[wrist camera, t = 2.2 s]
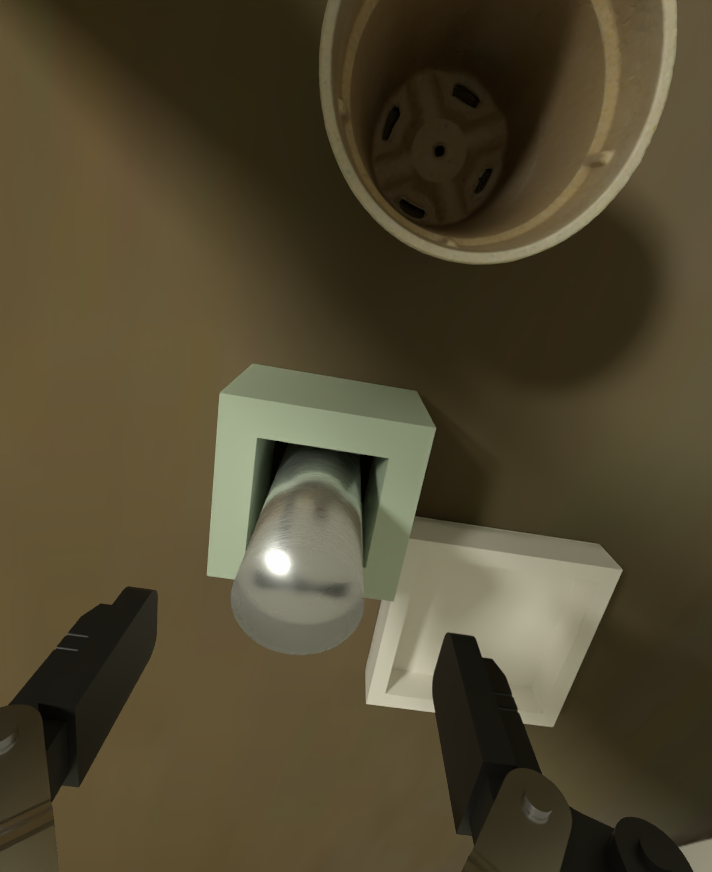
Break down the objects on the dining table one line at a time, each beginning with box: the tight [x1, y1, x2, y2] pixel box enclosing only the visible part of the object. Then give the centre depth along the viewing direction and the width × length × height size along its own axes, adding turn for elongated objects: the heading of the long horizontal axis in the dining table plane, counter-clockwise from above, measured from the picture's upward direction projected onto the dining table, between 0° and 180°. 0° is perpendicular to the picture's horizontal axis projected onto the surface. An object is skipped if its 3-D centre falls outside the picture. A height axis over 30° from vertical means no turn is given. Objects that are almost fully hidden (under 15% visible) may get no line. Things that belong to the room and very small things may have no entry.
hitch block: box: [207, 364, 436, 602], centre depth 22 cm, size 9×9×6 cm
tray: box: [365, 516, 623, 727], centre depth 27 cm, size 12×12×2 cm
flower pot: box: [319, 0, 678, 265], centre depth 16 cm, size 9×9×9 cm
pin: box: [231, 443, 364, 655], centre depth 19 cm, size 4×4×12 cm
